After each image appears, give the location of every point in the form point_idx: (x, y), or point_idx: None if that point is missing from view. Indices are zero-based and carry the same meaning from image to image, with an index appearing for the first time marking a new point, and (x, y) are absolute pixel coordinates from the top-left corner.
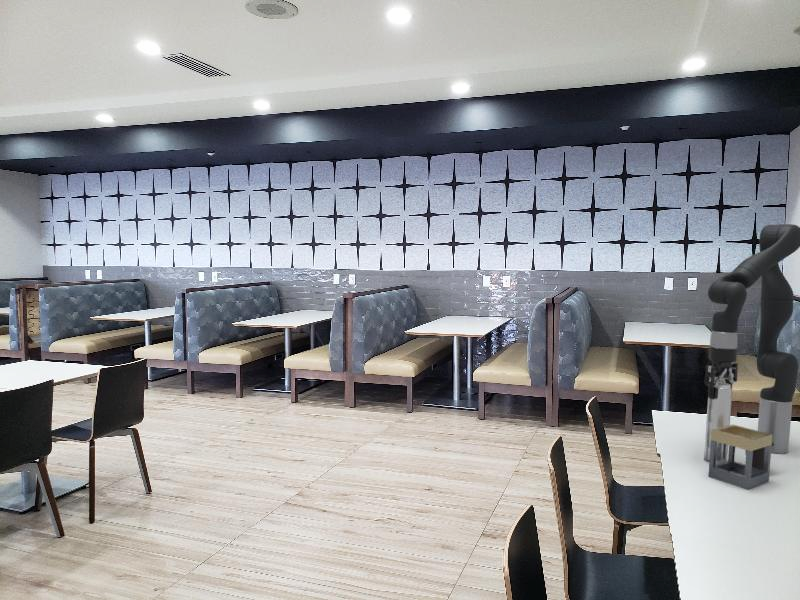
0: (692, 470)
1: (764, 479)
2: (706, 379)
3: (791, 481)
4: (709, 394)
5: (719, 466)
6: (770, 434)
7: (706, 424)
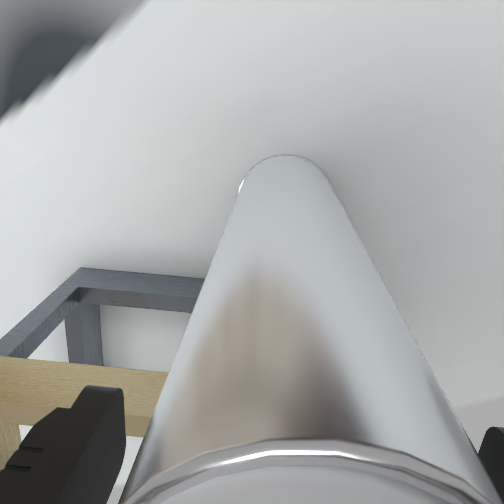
0: (82, 199)
1: None
2: None
3: None
4: (26, 449)
5: (113, 303)
6: None
7: (247, 208)
